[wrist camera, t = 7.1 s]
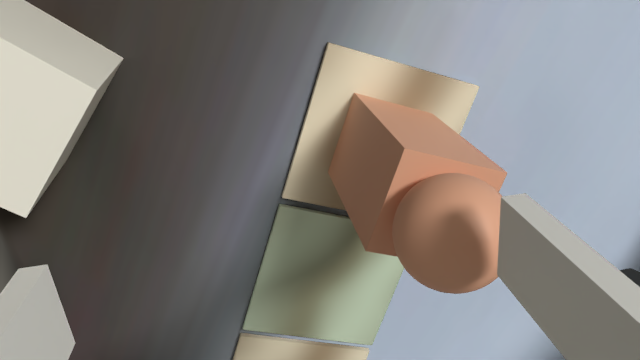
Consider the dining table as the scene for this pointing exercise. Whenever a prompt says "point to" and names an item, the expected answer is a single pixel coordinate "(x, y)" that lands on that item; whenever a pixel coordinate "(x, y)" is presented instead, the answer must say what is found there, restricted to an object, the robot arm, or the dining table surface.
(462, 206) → the orange-brown peg figure
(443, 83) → the track
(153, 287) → the dining table surface
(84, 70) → the die
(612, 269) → the robot arm
